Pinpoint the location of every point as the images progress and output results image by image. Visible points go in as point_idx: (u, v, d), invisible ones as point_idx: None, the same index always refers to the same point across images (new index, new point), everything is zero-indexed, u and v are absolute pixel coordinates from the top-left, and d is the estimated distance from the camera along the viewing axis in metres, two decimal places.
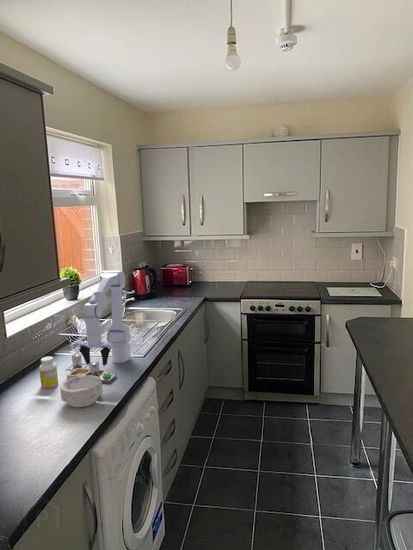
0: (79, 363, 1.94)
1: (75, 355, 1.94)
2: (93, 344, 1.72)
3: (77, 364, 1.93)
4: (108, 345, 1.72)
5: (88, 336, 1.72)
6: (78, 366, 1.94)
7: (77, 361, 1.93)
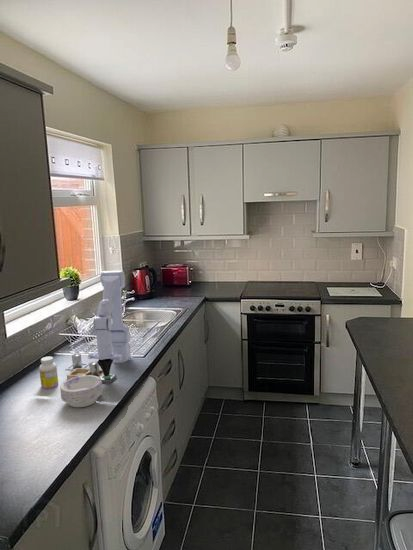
0: (79, 363, 1.94)
1: (75, 355, 1.94)
2: (104, 356, 1.75)
3: (77, 364, 1.93)
4: (118, 357, 1.76)
5: (99, 348, 1.75)
6: (78, 366, 1.94)
7: (77, 361, 1.93)
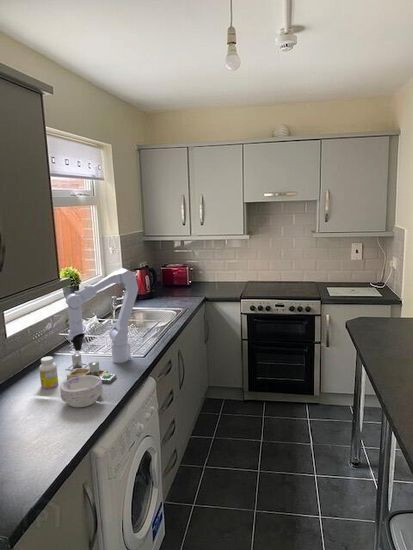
0: (79, 363, 1.94)
1: (75, 355, 1.94)
2: (69, 330, 1.90)
3: (77, 364, 1.93)
4: None
5: None
6: (78, 366, 1.94)
7: (77, 361, 1.93)
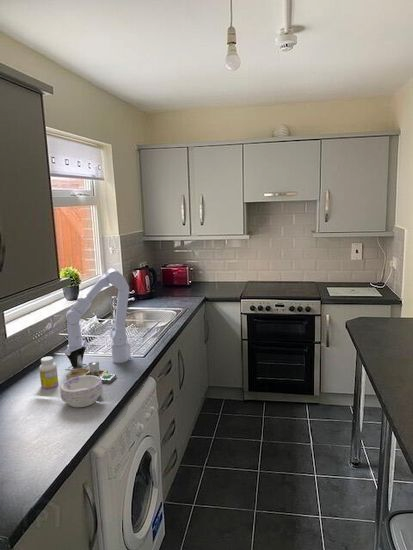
0: (79, 363, 1.94)
1: None
2: (68, 345, 1.93)
3: (77, 364, 1.93)
4: None
5: None
6: (78, 366, 1.94)
7: (77, 361, 1.93)
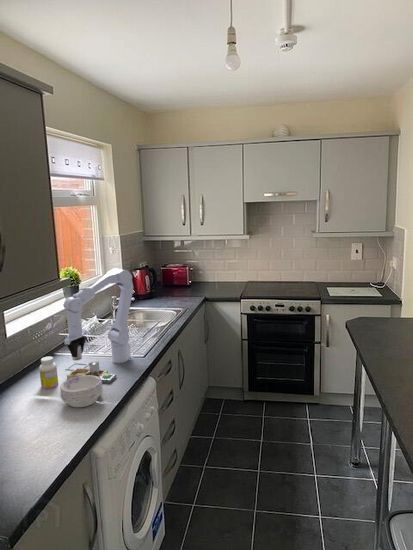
0: (78, 354, 1.86)
1: None
2: (68, 334, 1.86)
3: None
4: None
5: None
6: (77, 357, 1.86)
7: None
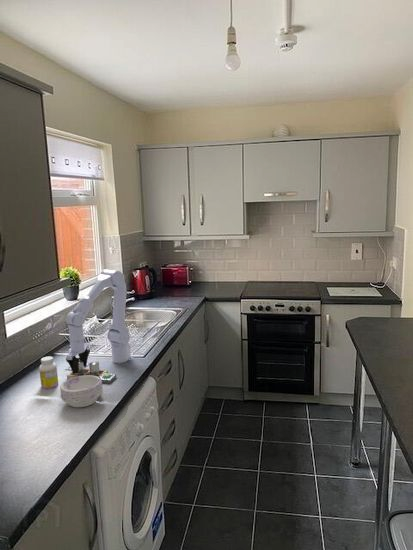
0: (81, 370, 1.84)
1: None
2: (70, 349, 1.84)
3: (79, 372, 1.84)
4: None
5: None
6: (80, 374, 1.84)
7: (79, 369, 1.84)
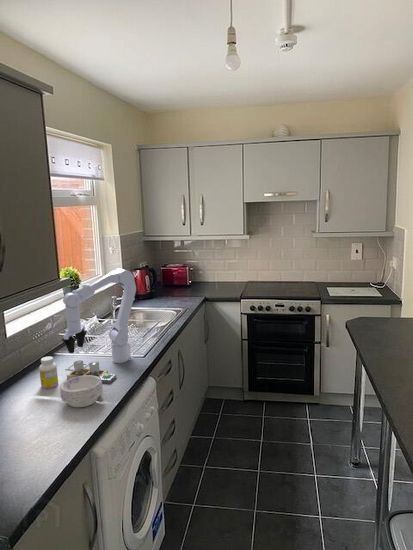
0: (81, 370, 1.84)
1: (77, 362, 1.85)
2: (67, 329, 1.89)
3: (79, 372, 1.84)
4: None
5: None
6: (80, 374, 1.84)
7: (79, 369, 1.84)
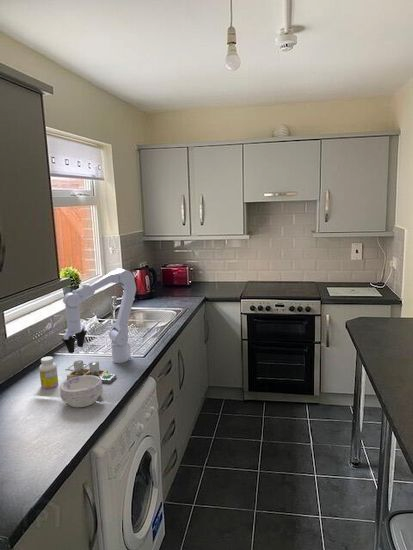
0: (81, 370, 1.84)
1: (77, 362, 1.85)
2: (67, 329, 1.89)
3: (79, 372, 1.84)
4: None
5: None
6: (80, 374, 1.84)
7: (79, 369, 1.84)
